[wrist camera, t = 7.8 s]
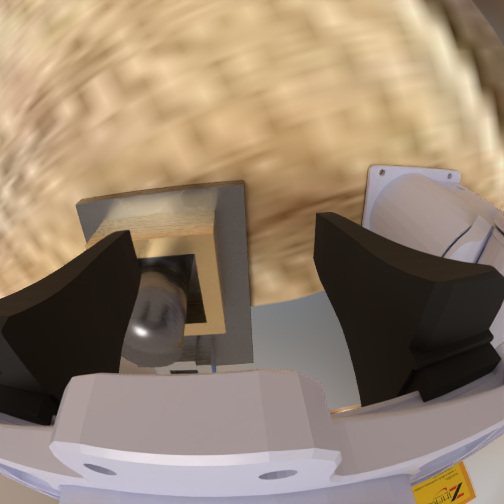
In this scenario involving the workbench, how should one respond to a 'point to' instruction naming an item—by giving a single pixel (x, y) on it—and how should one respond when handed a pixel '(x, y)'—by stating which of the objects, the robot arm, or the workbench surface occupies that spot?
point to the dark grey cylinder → (159, 311)
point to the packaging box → (446, 487)
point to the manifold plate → (203, 257)
